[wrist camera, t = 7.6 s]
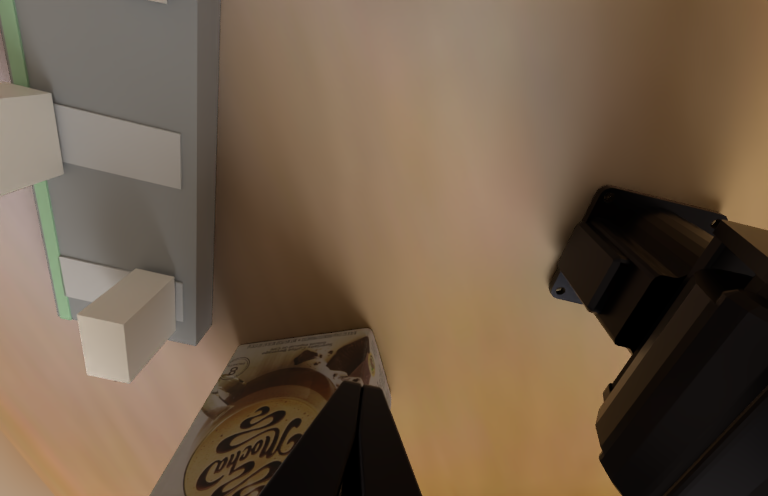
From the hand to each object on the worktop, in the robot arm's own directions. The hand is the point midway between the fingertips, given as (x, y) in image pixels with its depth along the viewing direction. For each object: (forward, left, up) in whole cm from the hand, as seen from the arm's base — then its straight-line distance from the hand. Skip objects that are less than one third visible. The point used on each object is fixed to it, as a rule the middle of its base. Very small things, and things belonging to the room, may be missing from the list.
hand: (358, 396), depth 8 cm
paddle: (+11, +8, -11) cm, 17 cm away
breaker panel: (+13, 0, -13) cm, 18 cm away
